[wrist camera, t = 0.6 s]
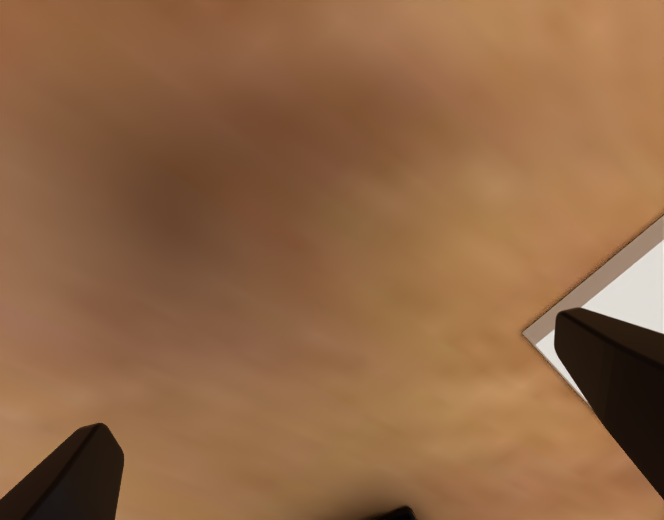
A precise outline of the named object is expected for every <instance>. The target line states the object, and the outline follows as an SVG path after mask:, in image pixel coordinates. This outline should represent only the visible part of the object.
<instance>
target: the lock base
mask: <svg viewBox="0 0 664 520" xmlns="http://www.w3.org/2000/svg"><path fill="white" fill-rule="evenodd" d="M575 307H581V308H584V309H588V310H591V311H594V312H597V313H600V314H603V315H606V316H610V317H613V318H616V319H619V320H622V321H625V322H628V323H631V324H635V325H638V326H641V327H644V328H647V329H650V330H653V331H657V332H660V333H663V334H664V215H663V216H662V217H661V218H660V219H658V220H657V221H656V222H655V223H654V224H652V225H651V226H650V227H649V228H648V229H646V230H645V231H644V232H643V233H641V234H640V235H639V236H638V237H637V238H635V239H634V240H633V241H632V242H631V243H629V244H628V245H627V246H626V247H625V248H623V249H622V250H621V251H620V252H619V253H617V254H616V255H615V256H614V257H613V258H611V259H610V260H609V261H608V262H607V263H605V264H604V265H603V266H602V267H601V268H599V269H598V270H597V271H596V272H595V273H593V274H592V275H591V276H590V277H589V278H587V279H586V280H585V281H584V282H582V283H581V284H580V285H579V286H578V287H576V288H575V289H574V290H573V291H572V292H570V293H569V294H568V295H567V296H566V297H564V298H563V299H562V300H561V301H560V302H558V303H557V304H556V305H555V306H554V307H552V308H551V309H550V310H549V311H548V312H546V313H545V314H544V315H543V316H542V317H540V318H539V319H538V320H537V321H536V322H534V323H533V324H532V325H531V326H530V327H528V328H527V329H526V330H525V331H523V332H522V334H523V335H524V336H525V337H526V338H527V339H528V340H529V341H530V343H531V344H532V345H533V346H534V347H535V348H536V349H537V350H538V351H539V352H540V353H541V354H542V355H543V357H544V358H545V359H546V360H547V361H548V362H549V363H550V364H551V365H552V366H553V367H554V368H555V370H556V371H557V372H558V373H559V374H560V375H561V376H562V377H563V378H564V379H565V380H566V381H567V383H568V384H569V385H570V386H571V387H572V388H573V389H574V390H575V391H576V392H577V393H578V394H579V396H580V397H581V398H582V399H583V400H584V401H585V402H586V403H587V404H588V405H589V403H588V402H587V400H586V399H585V397H584V396H583V394H582V393H581V391H580V390H579V388H578V387H577V385H576V384H575V382H574V381H573V379H572V378H571V376H570V374H569V373H568V371H567V370H566V368H565V367H564V365H563V364H562V362H561V361H560V359H559V358H558V356H557V354H556V352H555V349H554V333H555V319H556V315H557V313H558V312H560V311H563V310H567V309H571V308H575ZM589 406H590V405H589ZM590 407H591V406H590ZM591 409H592V408H591ZM592 410H593V409H592Z"/></svg>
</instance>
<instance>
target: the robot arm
mask: <svg viewBox="0 0 664 520" xmlns="http://www.w3.org/2000/svg"><path fill="white" fill-rule="evenodd" d="M554 349H555V352H556V354H557V356H558V358H559V359H560V361H561V362H562V364H563V365H564V367H565V368H566V370H567V371H568V373H569V374H570V376H571V378H572V379H573V381H574V382H575V384H576V385H577V387H578V388H579V390H580V391H581V393H582V394H583V396H584V397H585V399H586V400H587V402H588V403H589V405H590V406H591V408H592V409H593V411H594V412H595V414H596V415H597V417H598V418H599V419H600V421H601V422H602V424H603V425H604V426H605V428H606V429H607V430H608V431H609V433H610V434H611V435H612V437H613V438H614V439H615V440H616V442H617V443H618V444H619V445H620V446H621V448H622V449H623V450H624V451H625V453H626V454H627V455H628V456H629V458H630V459H631V460H632V461H633V463H634V464H635V465H636V466H637V467H638V469H639V470H640V471H641V472H642V474H643V475H644V476H645V477H646V479H647V480H648V481H649V482H650V484H651V485H652V486H653V487H654V488H655V490H656V491H657V492H658V493H659V495H660V496H661V497H662V498H663V500H664V334H663V333H660V332H657V331H653V330H650V329H647V328H644V327H641V326H638V325H635V324H631V323H628V322H625V321H622V320H619V319H616V318H613V317H610V316H606V315H603V314H600V313H597V312H594V311H591V310H588V309H584V308H581V307H575V308H571V309H567V310H563V311H560V312H558V313H557V315H556V319H555V333H554ZM123 466H124V454H123V451H122V449H121V447H120V446H119V444H118V442H117V441H116V439H115V438H114V436H113V435H112V433H111V431H110V430H109V428H108V427H107V426H106V425H105V424H103V423H96V424H92V425H88V426H84V427H81V428H79V429H77V430H76V431H75V432H74V433H73V434H72V435H71V436H70V437H68V438H67V439H66V440H65V441H64V442H63V443H62V444H61V445H60V446H59V447H58V448H56V449H55V450H54V451H53V452H52V453H51V454H50V455H49V456H48V457H47V458H45V459H44V460H43V461H42V462H41V463H40V464H39V465H38V466H37V467H36V468H34V469H33V470H32V471H31V472H30V473H29V474H28V475H27V476H26V477H25V478H24V479H22V480H21V481H20V482H19V483H18V484H17V485H16V486H15V487H14V488H13V489H11V490H10V491H9V492H8V493H7V494H6V495H5V496H4V497H3V498H2V499H0V520H115V515H116V509H117V503H118V497H119V491H120V485H121V479H122V472H123ZM377 520H417V519H416V517H415V515H414V513H413V511H412V510H411V509H410V508H403V509H401V510H399V511H396V512H394V513H392V514H389V515H387V516H384V517H382V518H380V519H377Z"/></svg>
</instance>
